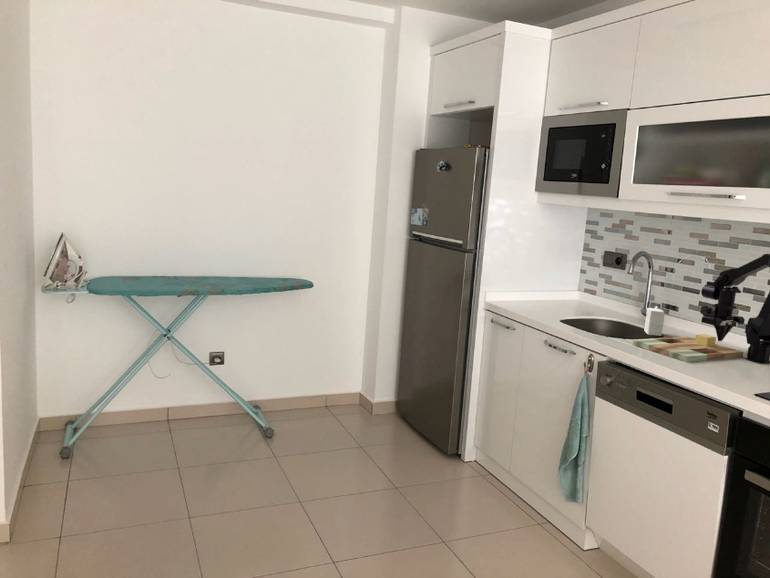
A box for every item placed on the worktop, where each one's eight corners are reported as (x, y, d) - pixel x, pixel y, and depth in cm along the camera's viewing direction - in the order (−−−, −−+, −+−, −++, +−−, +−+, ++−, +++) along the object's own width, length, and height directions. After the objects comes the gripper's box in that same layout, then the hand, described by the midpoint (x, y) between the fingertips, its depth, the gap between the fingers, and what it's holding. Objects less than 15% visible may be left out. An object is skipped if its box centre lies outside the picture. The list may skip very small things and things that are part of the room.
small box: (661, 336, 265) (665, 312, 263) (647, 334, 266) (651, 310, 264) (657, 332, 272) (660, 308, 271) (643, 331, 273) (647, 307, 272)
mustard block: (714, 345, 244) (716, 337, 243) (706, 346, 242) (707, 337, 241) (703, 342, 248) (704, 334, 248) (694, 343, 246) (696, 334, 245)
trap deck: (742, 356, 238) (743, 351, 237) (686, 362, 223) (687, 356, 223) (687, 341, 259) (688, 336, 258) (632, 344, 244) (633, 339, 244)
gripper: (722, 298, 258) (716, 335, 260) (692, 299, 249) (686, 337, 252) (748, 303, 248) (741, 341, 250) (717, 304, 239) (711, 344, 242)
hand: (719, 341), depth 249 cm, fingers closed
